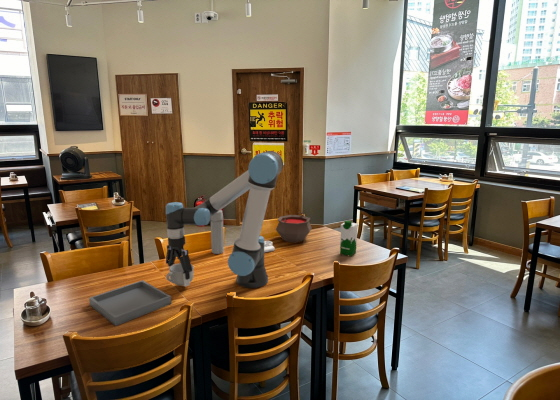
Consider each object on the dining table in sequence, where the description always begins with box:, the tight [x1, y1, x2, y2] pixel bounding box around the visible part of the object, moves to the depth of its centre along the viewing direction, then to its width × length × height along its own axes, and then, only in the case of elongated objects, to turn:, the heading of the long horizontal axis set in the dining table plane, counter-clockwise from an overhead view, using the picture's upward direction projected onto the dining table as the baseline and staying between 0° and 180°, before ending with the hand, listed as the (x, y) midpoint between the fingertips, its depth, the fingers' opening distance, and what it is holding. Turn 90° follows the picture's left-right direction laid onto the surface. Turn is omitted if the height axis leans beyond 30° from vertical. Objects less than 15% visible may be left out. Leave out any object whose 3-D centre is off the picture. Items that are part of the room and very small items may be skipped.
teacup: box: [165, 262, 195, 287], centre depth 174 cm, size 14×11×8 cm
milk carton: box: [339, 220, 359, 257], centre depth 219 cm, size 9×9×20 cm
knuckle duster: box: [264, 240, 276, 253], centre depth 227 cm, size 3×18×15 cm
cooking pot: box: [275, 211, 312, 243], centre depth 245 cm, size 24×24×16 cm
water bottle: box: [210, 209, 225, 255], centre depth 220 cm, size 9×8×25 cm
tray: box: [88, 279, 172, 327], centre depth 159 cm, size 24×24×4 cm
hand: (179, 282), depth 175 cm, fingers closed on teacup, 11 cm apart
